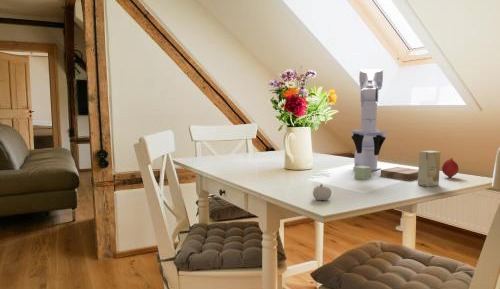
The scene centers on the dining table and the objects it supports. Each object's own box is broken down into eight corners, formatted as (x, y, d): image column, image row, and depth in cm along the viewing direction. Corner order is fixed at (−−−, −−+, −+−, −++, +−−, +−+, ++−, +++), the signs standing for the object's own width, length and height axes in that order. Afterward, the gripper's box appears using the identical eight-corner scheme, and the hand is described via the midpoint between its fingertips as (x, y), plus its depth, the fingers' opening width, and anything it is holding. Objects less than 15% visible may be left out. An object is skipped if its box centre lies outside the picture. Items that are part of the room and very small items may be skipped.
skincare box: (427, 187, 138) (429, 152, 136) (417, 184, 141) (418, 151, 140) (439, 185, 141) (441, 151, 139) (429, 183, 144) (430, 150, 143)
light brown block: (380, 176, 159) (380, 169, 158) (397, 172, 166) (397, 166, 166) (408, 180, 149) (408, 174, 149) (424, 176, 157) (425, 170, 156)
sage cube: (354, 178, 155) (354, 166, 155) (361, 176, 158) (361, 165, 158) (364, 179, 152) (364, 168, 151) (371, 178, 154) (371, 167, 154)
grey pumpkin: (321, 203, 116) (321, 186, 116) (308, 199, 121) (308, 183, 120) (335, 200, 120) (335, 183, 119) (322, 197, 124) (322, 180, 124)
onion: (441, 178, 153) (442, 158, 153) (441, 175, 159) (442, 156, 158) (458, 179, 151) (459, 158, 150) (458, 177, 156) (459, 157, 155)
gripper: (346, 119, 155) (346, 153, 156) (380, 120, 144) (379, 156, 146) (356, 118, 160) (356, 151, 161) (390, 119, 149) (389, 155, 150)
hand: (367, 154), depth 154 cm, fingers open, 7 cm apart
